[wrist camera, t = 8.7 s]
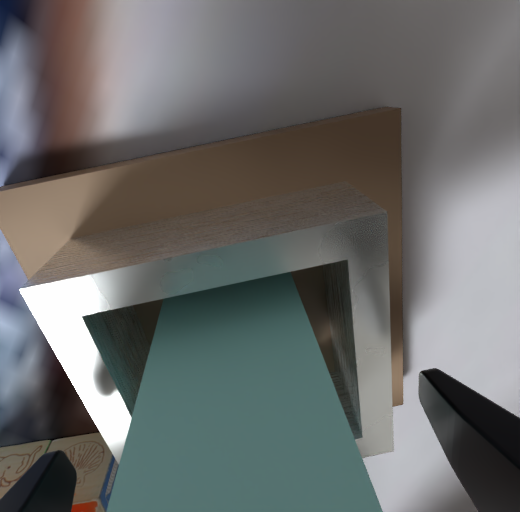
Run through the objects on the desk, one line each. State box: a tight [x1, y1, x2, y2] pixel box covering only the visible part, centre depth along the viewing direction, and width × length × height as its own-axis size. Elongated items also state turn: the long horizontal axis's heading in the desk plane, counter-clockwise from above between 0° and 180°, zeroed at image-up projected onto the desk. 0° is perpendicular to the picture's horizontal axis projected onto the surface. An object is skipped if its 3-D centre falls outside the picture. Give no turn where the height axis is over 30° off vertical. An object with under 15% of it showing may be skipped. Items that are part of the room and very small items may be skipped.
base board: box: [0, 107, 403, 407], centre depth 13 cm, size 12×12×1 cm
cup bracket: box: [19, 181, 394, 464], centre depth 11 cm, size 8×8×3 cm
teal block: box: [106, 272, 383, 512], centre depth 9 cm, size 4×4×8 cm
